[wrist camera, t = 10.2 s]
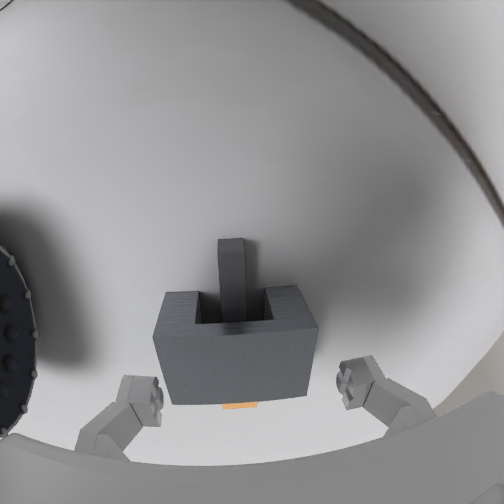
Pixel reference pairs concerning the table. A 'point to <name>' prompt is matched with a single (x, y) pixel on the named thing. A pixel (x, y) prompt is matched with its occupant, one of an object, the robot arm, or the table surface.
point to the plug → (233, 289)
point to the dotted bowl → (15, 344)
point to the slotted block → (236, 351)
